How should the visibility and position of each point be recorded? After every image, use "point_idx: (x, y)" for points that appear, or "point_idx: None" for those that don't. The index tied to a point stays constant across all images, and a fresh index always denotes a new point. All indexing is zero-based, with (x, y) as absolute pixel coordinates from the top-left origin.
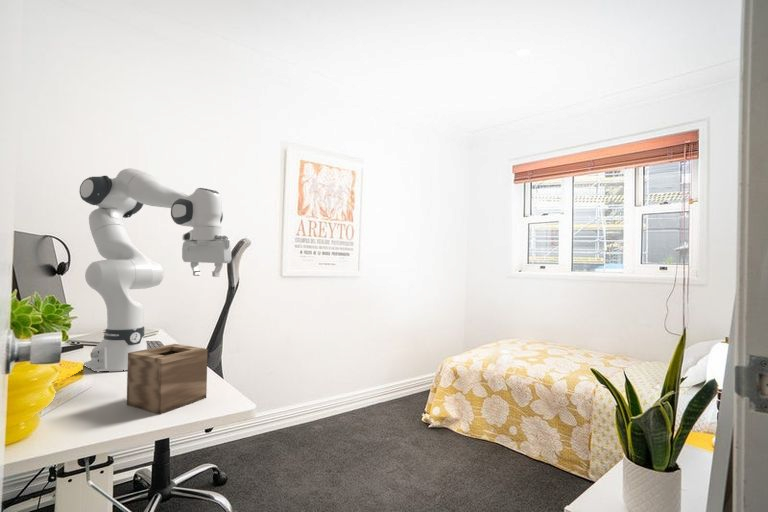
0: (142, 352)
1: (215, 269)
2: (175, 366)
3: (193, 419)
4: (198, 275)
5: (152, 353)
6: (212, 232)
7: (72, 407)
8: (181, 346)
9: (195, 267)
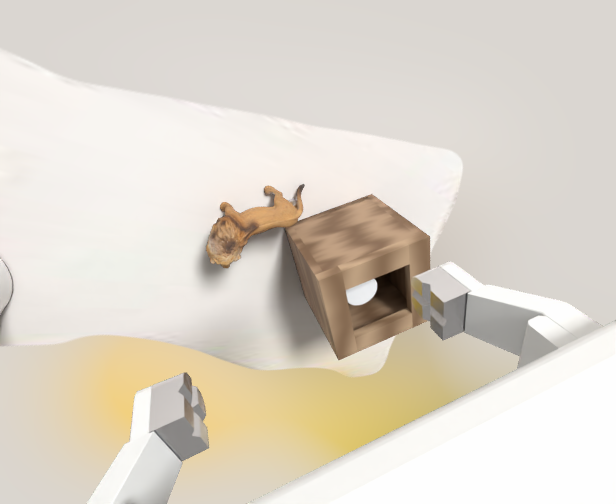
0: (355, 341)
1: (497, 338)
2: None
3: (430, 238)
4: (189, 380)
5: (377, 328)
6: None
7: (259, 351)
8: (361, 275)
9: (145, 496)
